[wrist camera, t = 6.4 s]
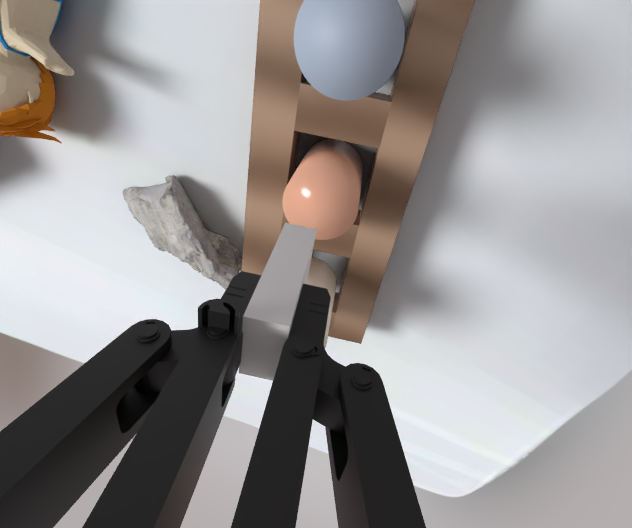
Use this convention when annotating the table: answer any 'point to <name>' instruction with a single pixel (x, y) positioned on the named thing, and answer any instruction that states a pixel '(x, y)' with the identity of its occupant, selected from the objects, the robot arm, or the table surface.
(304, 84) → the wooden compartment tray
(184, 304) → the table surface
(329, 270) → the white rounded cylinder
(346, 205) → the cap terracotta
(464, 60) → the table surface
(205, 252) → the stone
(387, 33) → the cap slate
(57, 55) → the toy
